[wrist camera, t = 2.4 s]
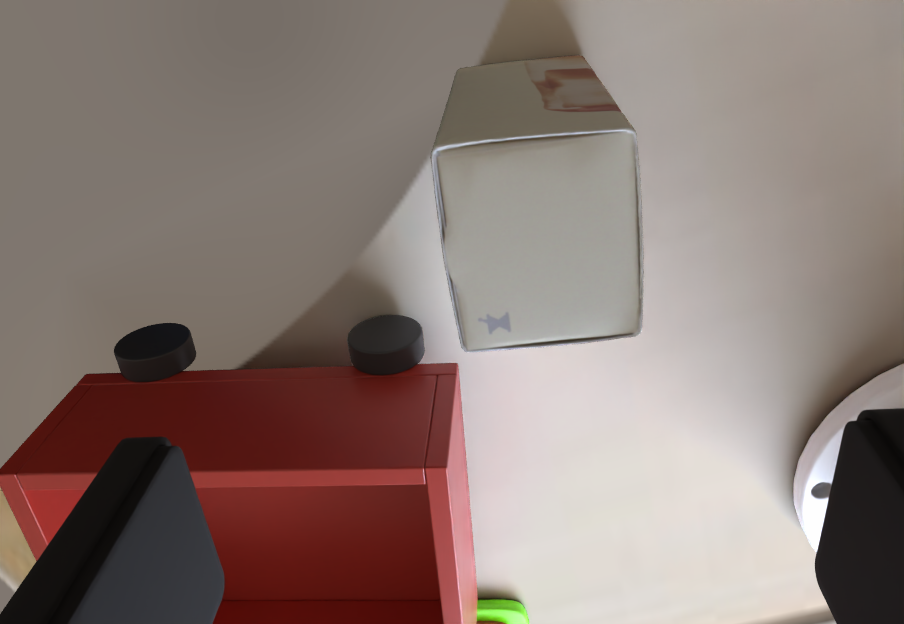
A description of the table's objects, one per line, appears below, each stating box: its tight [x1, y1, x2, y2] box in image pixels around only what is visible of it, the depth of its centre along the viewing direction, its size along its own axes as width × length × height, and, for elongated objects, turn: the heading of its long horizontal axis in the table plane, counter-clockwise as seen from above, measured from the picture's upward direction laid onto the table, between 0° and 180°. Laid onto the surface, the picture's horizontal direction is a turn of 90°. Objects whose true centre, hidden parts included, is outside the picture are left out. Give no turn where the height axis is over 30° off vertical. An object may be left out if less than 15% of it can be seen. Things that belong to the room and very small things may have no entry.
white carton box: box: [431, 55, 644, 352], centre depth 20 cm, size 5×4×10 cm
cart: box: [0, 315, 478, 624], centre depth 27 cm, size 14×14×13 cm
